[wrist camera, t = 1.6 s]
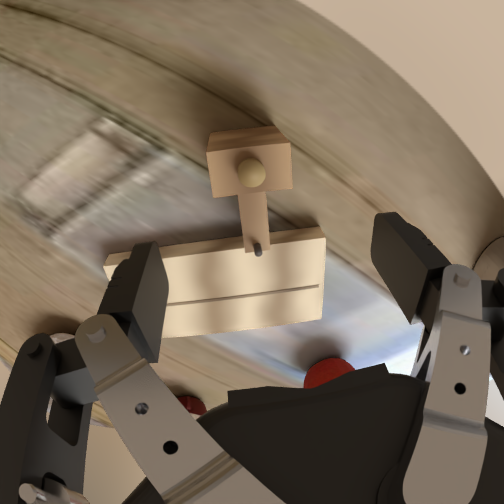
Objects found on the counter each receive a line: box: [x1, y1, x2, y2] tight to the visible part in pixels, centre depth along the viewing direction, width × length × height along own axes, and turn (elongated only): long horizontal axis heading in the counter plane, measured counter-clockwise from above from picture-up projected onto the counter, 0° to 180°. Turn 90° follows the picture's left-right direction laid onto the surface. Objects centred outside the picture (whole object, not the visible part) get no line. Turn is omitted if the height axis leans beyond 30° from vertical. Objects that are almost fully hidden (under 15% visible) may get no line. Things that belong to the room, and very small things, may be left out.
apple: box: [304, 358, 355, 388], centre depth 37 cm, size 8×8×8 cm
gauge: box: [206, 125, 293, 257], centre depth 22 cm, size 5×9×7 cm, turn 5°
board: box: [103, 226, 326, 338], centre depth 30 cm, size 20×10×2 cm, turn 96°
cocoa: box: [177, 396, 207, 420], centre depth 38 cm, size 10×6×12 cm, turn 145°
